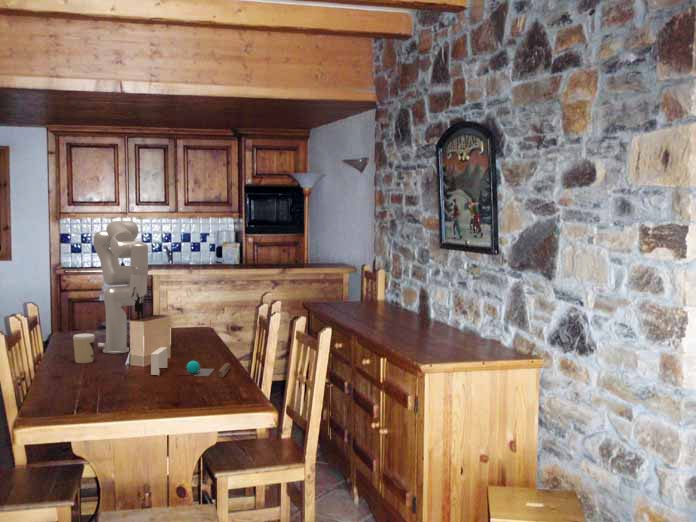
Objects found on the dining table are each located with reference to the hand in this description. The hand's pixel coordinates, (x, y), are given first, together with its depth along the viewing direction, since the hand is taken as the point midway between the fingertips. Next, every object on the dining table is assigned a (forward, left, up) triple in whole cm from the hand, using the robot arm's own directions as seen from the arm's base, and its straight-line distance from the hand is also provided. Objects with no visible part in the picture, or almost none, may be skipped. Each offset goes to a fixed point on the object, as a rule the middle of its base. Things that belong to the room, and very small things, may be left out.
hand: (138, 311), depth 327 cm
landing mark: (+29, -14, -24) cm, 40 cm away
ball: (+28, -17, -21) cm, 39 cm away
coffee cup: (-26, +3, -24) cm, 35 cm away
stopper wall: (+41, -14, -24) cm, 50 cm away
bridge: (+13, -14, -24) cm, 31 cm away
